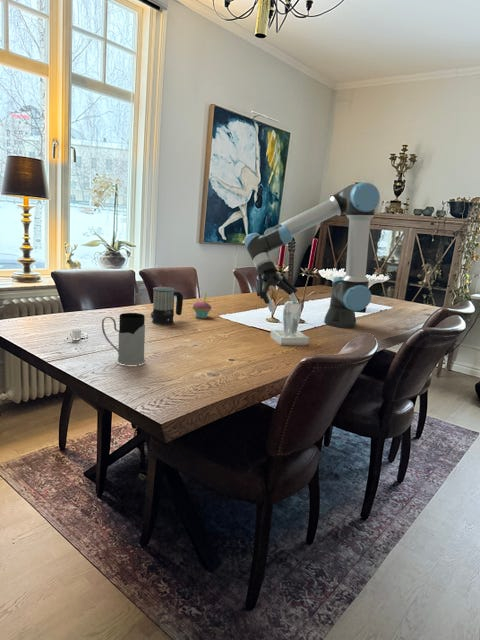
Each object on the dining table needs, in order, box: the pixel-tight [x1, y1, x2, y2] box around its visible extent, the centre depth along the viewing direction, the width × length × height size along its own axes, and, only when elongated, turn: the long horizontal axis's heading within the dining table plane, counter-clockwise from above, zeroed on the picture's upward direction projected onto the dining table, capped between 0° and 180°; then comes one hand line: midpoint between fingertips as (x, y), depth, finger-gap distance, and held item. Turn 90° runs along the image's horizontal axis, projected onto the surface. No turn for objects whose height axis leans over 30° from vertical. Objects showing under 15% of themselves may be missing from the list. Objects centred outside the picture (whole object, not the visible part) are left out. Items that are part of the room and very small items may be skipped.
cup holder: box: [269, 329, 310, 346], centre depth 174 cm, size 12×12×3 cm
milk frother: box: [150, 286, 184, 325], centre depth 189 cm, size 14×16×15 cm
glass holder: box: [101, 312, 146, 365], centre depth 135 cm, size 9×14×15 cm, turn 80°
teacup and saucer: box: [69, 328, 89, 340], centre depth 153 cm, size 9×8×4 cm
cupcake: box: [192, 292, 212, 319], centre depth 201 cm, size 9×8×12 cm
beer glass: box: [282, 300, 302, 337], centre depth 172 cm, size 7×7×15 cm
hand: (285, 308), depth 173 cm, fingers open, 13 cm apart
